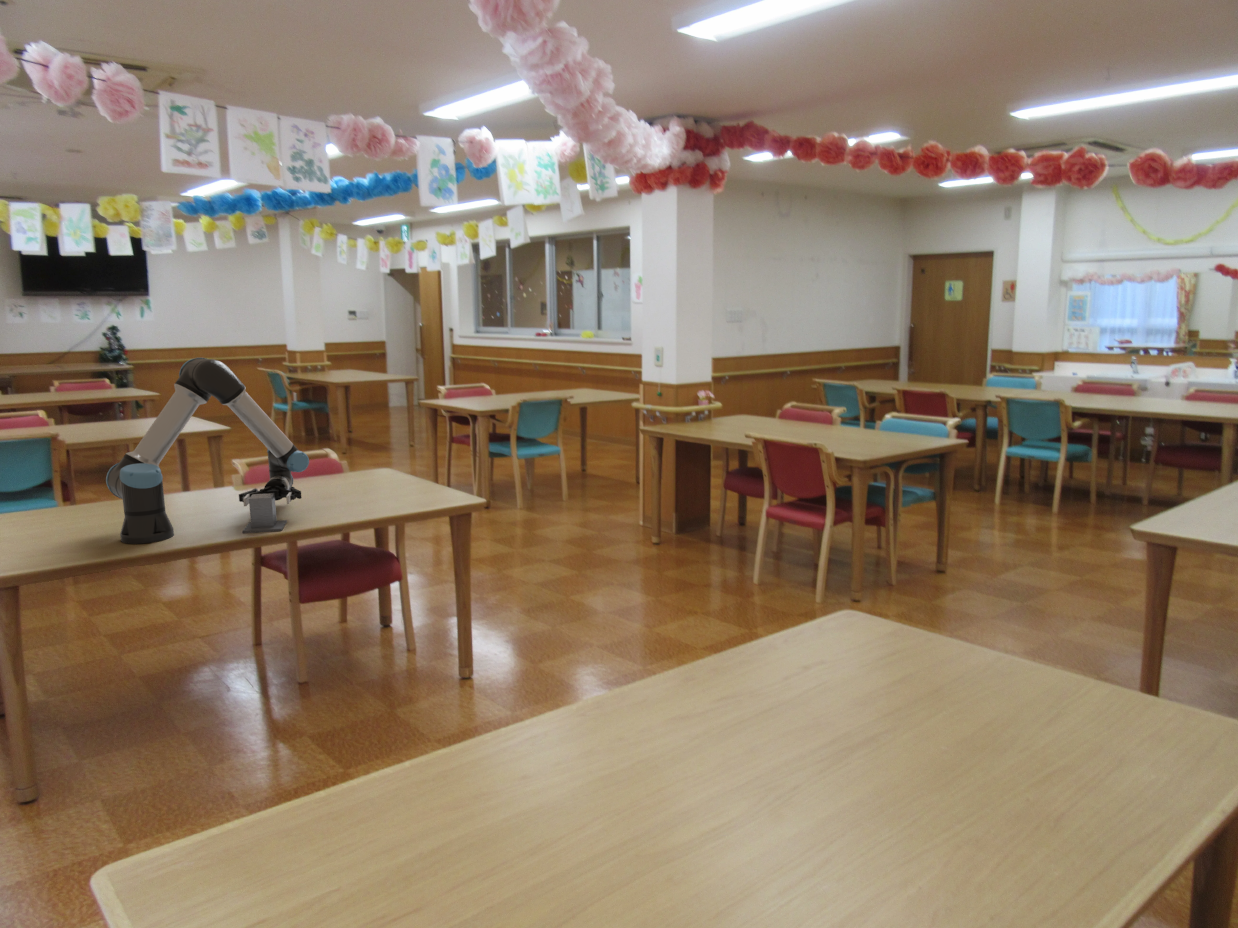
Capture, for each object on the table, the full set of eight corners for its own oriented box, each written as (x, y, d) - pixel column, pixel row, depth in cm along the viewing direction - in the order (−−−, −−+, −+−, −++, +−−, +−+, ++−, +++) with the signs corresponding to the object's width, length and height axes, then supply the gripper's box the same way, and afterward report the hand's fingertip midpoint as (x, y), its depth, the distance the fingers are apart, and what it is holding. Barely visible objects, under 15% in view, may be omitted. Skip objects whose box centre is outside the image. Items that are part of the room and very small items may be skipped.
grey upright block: (251, 528, 290) (248, 498, 288) (254, 523, 297) (252, 494, 295) (273, 527, 292) (271, 497, 290) (276, 521, 298) (274, 493, 297)
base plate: (242, 533, 287) (242, 530, 287) (249, 524, 299) (249, 521, 299) (281, 530, 290) (281, 528, 290) (286, 522, 301) (286, 519, 301)
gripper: (313, 496, 319) (306, 510, 298) (240, 500, 314) (227, 514, 293) (312, 476, 317) (304, 488, 297) (238, 479, 312) (225, 492, 292)
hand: (266, 501), depth 295 cm, fingers open, 13 cm apart
